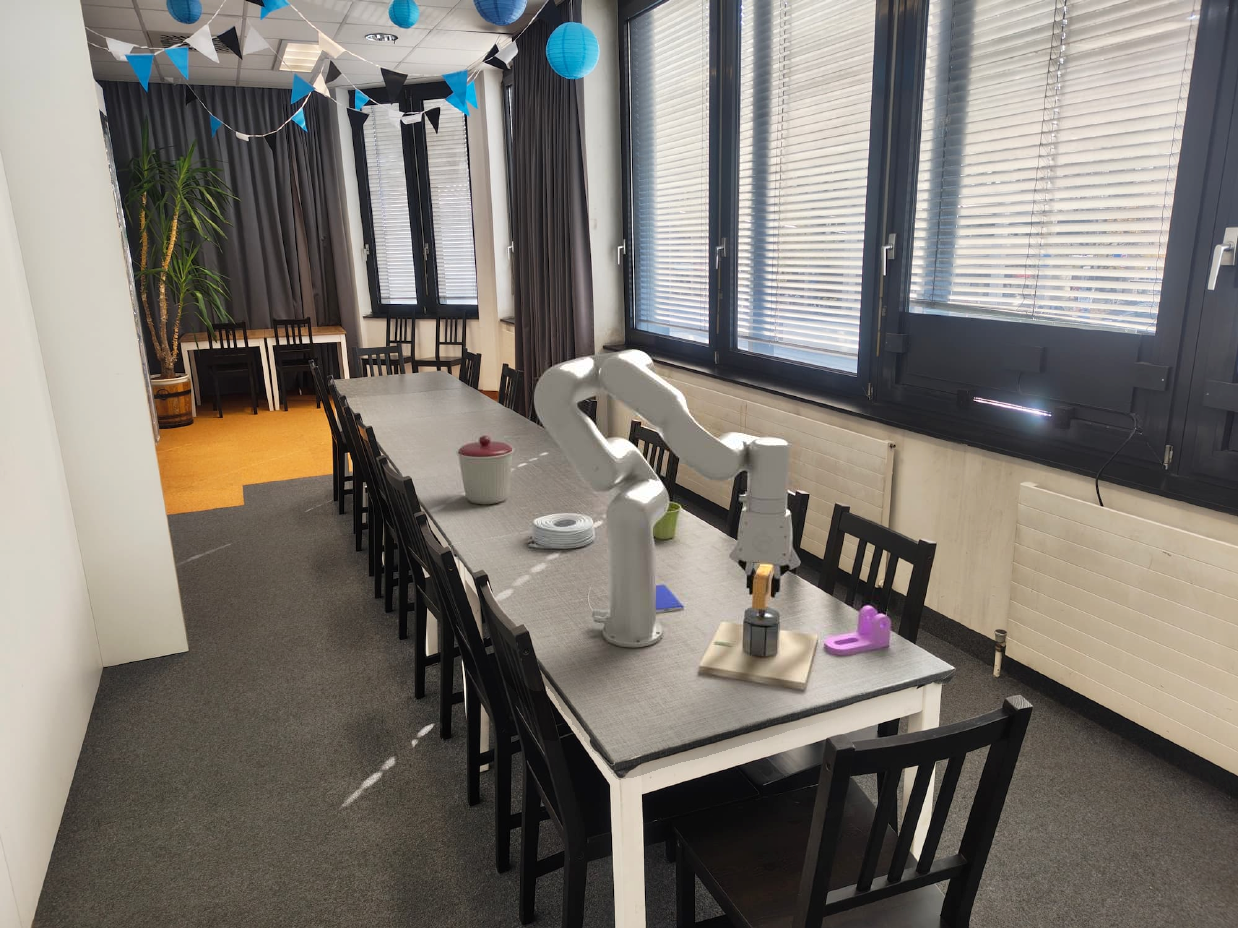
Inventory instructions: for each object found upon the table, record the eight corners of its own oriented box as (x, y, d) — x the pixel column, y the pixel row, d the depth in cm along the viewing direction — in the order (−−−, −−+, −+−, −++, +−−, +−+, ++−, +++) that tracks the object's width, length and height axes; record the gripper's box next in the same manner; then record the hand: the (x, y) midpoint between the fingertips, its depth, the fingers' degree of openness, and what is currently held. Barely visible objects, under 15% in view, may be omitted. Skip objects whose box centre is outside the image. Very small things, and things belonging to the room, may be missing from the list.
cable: (522, 548, 224) (522, 527, 222) (543, 527, 240) (543, 507, 239) (585, 554, 220) (584, 532, 218) (602, 532, 236) (602, 512, 235)
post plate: (698, 672, 158) (699, 634, 156) (721, 627, 177) (722, 593, 175) (804, 690, 152) (807, 650, 150) (817, 642, 170) (819, 606, 168)
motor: (738, 655, 161) (741, 577, 157) (749, 632, 170) (752, 558, 166) (774, 660, 159) (777, 581, 154) (782, 637, 168) (786, 562, 164)
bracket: (871, 634, 174) (874, 604, 172) (888, 646, 169) (891, 615, 167) (818, 645, 169) (820, 613, 167) (834, 657, 164) (837, 625, 162)
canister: (455, 494, 271) (452, 431, 266) (510, 489, 276) (508, 428, 271) (462, 511, 254) (458, 444, 249) (520, 505, 260) (518, 440, 254)
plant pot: (681, 530, 236) (681, 501, 234) (680, 542, 227) (680, 512, 225) (648, 529, 237) (648, 500, 235) (646, 541, 228) (646, 511, 226)
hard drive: (632, 588, 195) (649, 609, 183) (665, 583, 197) (683, 605, 186) (632, 594, 195) (649, 616, 184) (665, 590, 197) (683, 611, 186)
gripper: (719, 504, 155) (716, 595, 160) (809, 513, 150) (803, 607, 155) (727, 493, 162) (725, 580, 167) (814, 501, 157) (808, 591, 162)
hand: (762, 592), depth 161 cm, fingers open, 3 cm apart
